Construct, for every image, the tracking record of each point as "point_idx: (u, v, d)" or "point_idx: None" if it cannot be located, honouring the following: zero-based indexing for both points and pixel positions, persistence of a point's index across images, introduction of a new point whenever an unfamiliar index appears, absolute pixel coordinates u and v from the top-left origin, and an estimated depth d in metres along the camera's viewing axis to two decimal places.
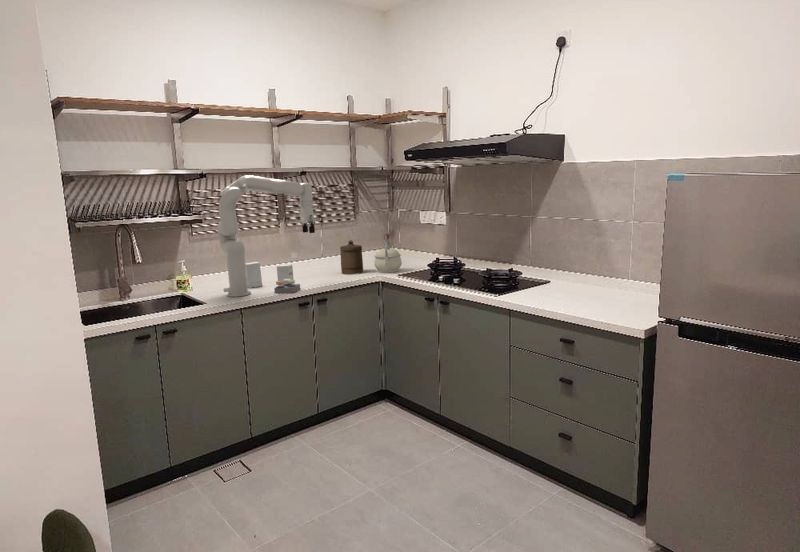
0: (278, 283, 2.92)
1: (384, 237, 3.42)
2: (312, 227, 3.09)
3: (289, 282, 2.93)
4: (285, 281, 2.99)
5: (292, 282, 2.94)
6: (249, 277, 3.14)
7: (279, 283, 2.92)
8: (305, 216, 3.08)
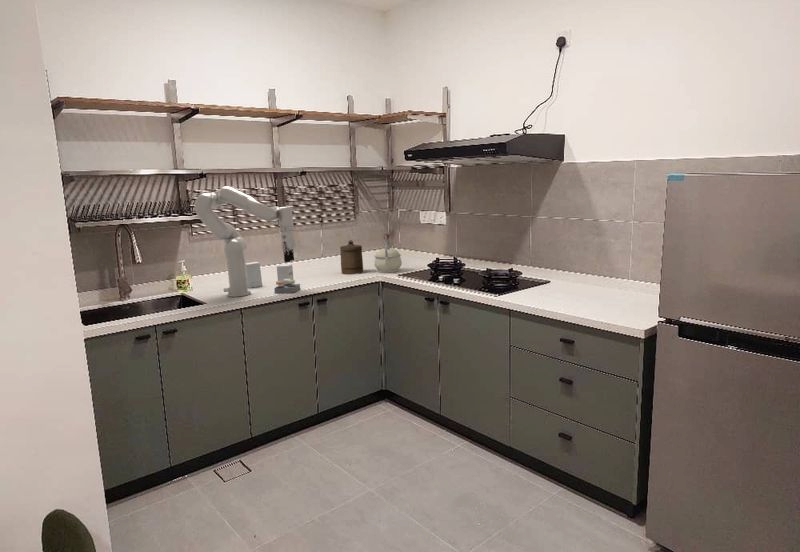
0: (278, 283, 2.92)
1: (384, 237, 3.42)
2: None
3: (289, 282, 2.93)
4: (285, 281, 2.99)
5: (292, 282, 2.94)
6: (249, 277, 3.14)
7: (279, 283, 2.92)
8: (294, 241, 2.95)
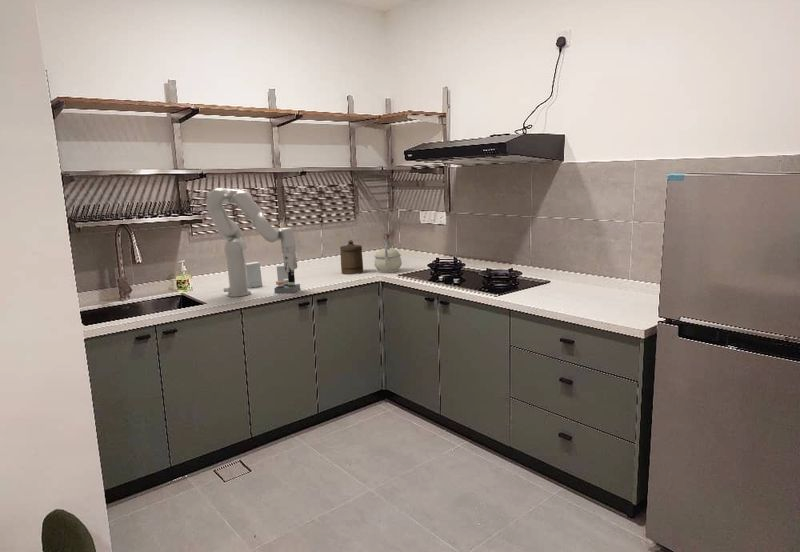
0: (278, 283, 2.92)
1: (384, 237, 3.42)
2: None
3: (289, 284, 2.94)
4: (285, 281, 2.99)
5: (292, 284, 2.94)
6: (249, 277, 3.14)
7: (279, 283, 2.92)
8: (296, 261, 2.96)
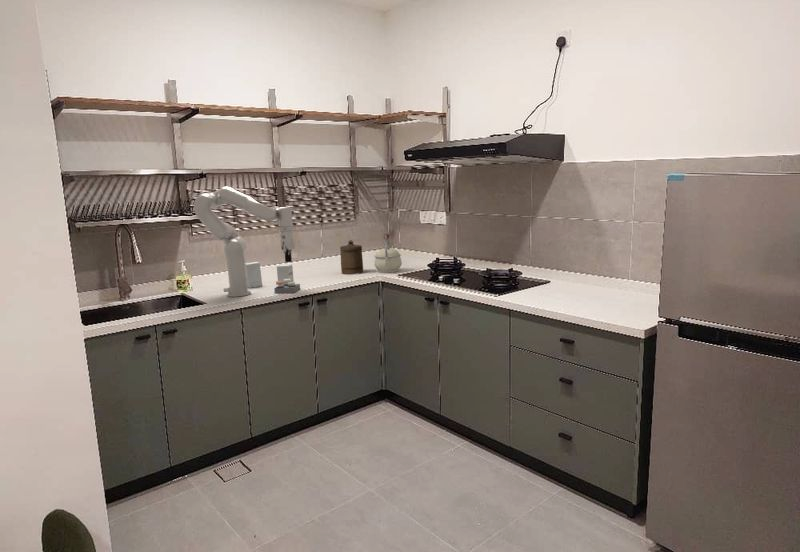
0: (278, 283, 2.92)
1: (384, 237, 3.43)
2: None
3: (289, 284, 2.94)
4: (285, 281, 2.99)
5: (292, 284, 2.94)
6: (249, 277, 3.14)
7: (279, 283, 2.92)
8: (293, 241, 2.95)
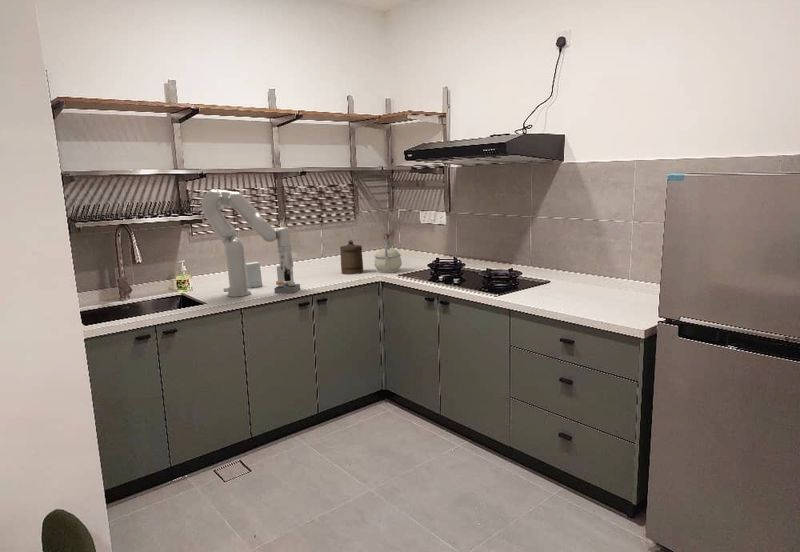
0: (278, 283, 2.92)
1: (384, 237, 3.43)
2: None
3: (289, 284, 2.94)
4: (285, 283, 2.99)
5: (292, 284, 2.94)
6: (249, 277, 3.14)
7: (279, 283, 2.92)
8: (292, 260, 3.02)
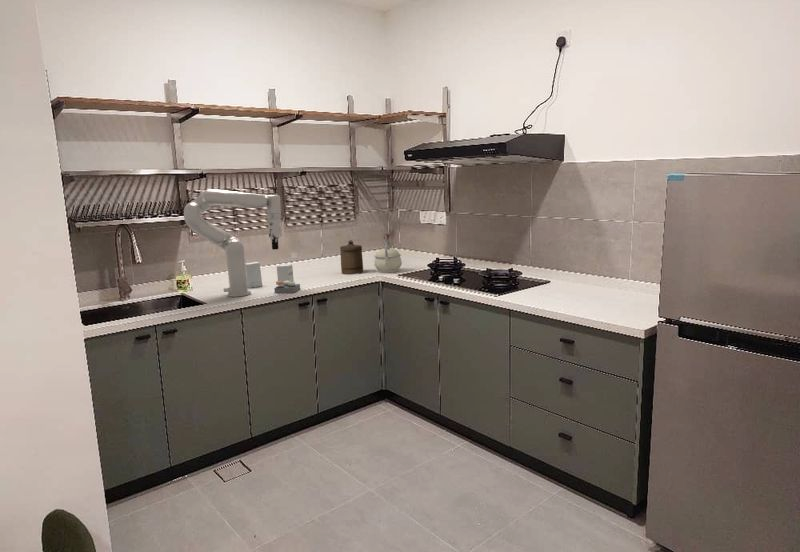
0: (278, 283, 2.92)
1: (384, 237, 3.42)
2: None
3: (289, 284, 2.94)
4: (285, 283, 2.99)
5: (292, 284, 2.94)
6: (249, 277, 3.14)
7: (279, 283, 2.92)
8: (281, 229, 2.99)
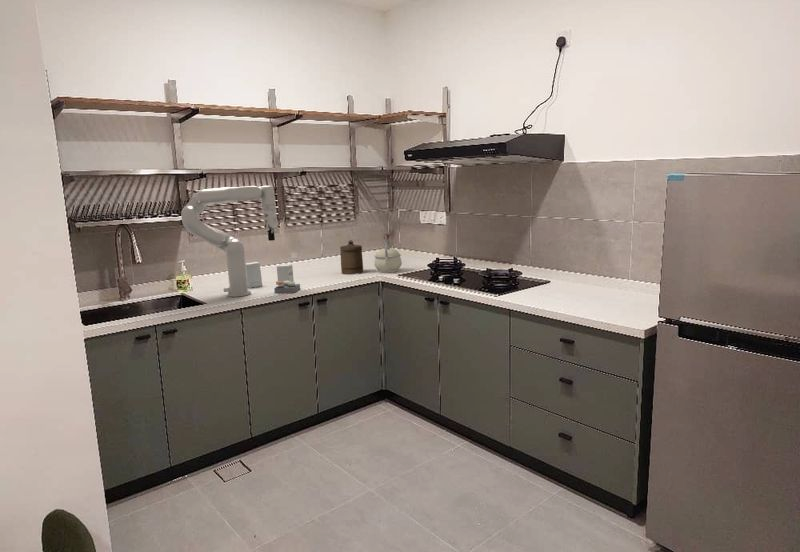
0: (278, 283, 2.92)
1: (384, 237, 3.43)
2: None
3: (289, 284, 2.94)
4: (285, 283, 2.99)
5: (292, 284, 2.94)
6: (249, 277, 3.14)
7: (279, 283, 2.92)
8: (276, 220, 2.99)
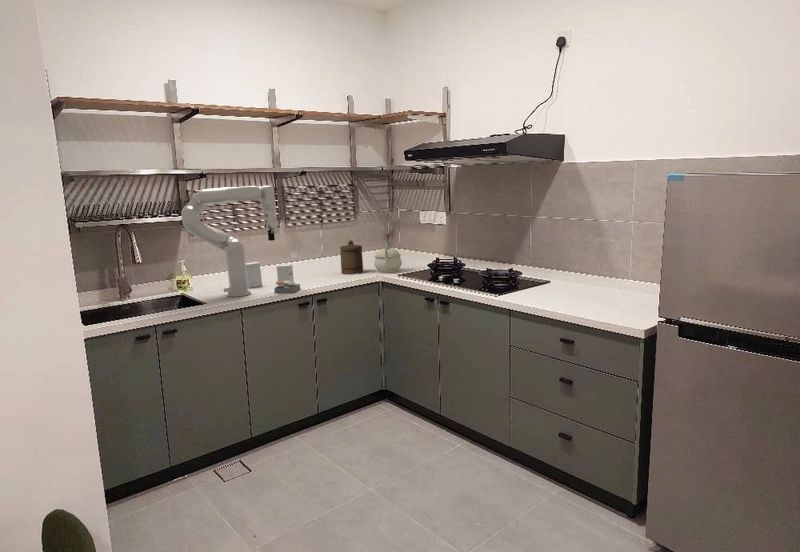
0: (278, 283, 2.92)
1: (384, 237, 3.43)
2: None
3: (289, 284, 2.94)
4: (285, 283, 2.99)
5: (292, 284, 2.94)
6: (249, 277, 3.14)
7: (279, 283, 2.92)
8: (276, 220, 2.99)
